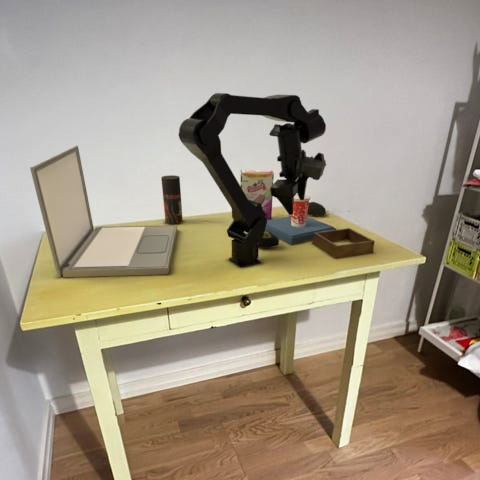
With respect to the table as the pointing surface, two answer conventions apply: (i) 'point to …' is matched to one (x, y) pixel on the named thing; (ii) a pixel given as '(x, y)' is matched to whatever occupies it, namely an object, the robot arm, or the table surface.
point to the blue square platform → (295, 229)
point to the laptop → (82, 232)
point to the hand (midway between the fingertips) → (296, 206)
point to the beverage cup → (300, 211)
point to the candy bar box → (258, 187)
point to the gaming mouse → (316, 209)
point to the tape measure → (268, 240)
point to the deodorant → (172, 199)
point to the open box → (357, 246)
